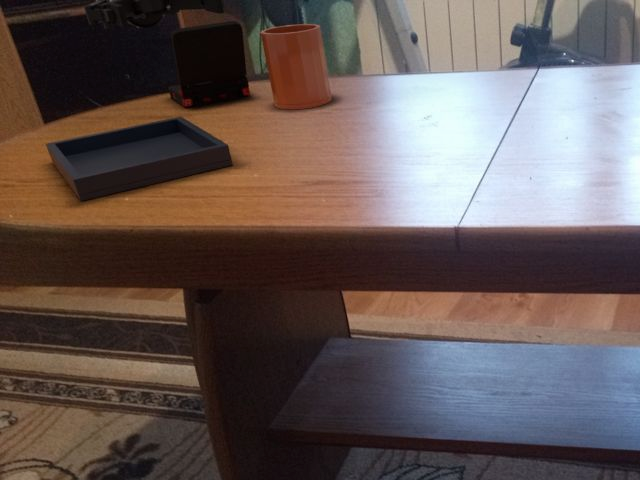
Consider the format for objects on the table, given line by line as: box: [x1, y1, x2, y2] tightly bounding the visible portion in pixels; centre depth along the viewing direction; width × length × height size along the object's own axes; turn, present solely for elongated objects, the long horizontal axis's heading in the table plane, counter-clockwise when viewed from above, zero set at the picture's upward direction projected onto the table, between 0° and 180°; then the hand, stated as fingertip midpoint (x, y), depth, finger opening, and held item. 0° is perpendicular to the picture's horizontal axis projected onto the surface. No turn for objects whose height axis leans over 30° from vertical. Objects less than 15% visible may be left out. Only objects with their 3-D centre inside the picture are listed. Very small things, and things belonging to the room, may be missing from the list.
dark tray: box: [45, 116, 233, 202], centre depth 77 cm, size 17×15×2 cm
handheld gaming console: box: [167, 20, 251, 108], centre depth 100 cm, size 9×12×10 cm
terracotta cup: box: [260, 23, 333, 110], centre depth 94 cm, size 7×7×9 cm
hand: (172, 9), depth 104 cm, fingers open, 13 cm apart
